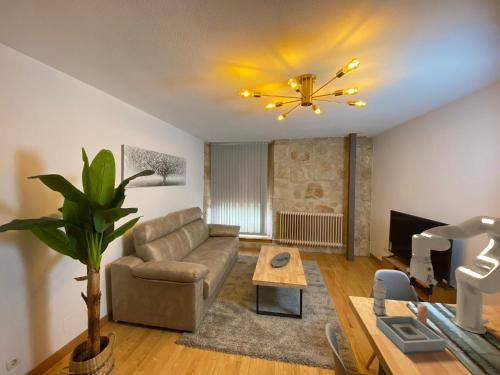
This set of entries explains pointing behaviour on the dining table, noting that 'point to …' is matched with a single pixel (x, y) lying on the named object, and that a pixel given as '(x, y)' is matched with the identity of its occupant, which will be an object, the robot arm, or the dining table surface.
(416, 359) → the dining table surface
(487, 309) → the dining table surface
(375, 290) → the plastic bottle
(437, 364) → the dining table surface
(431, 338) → the grey socket tray
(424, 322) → the peg
